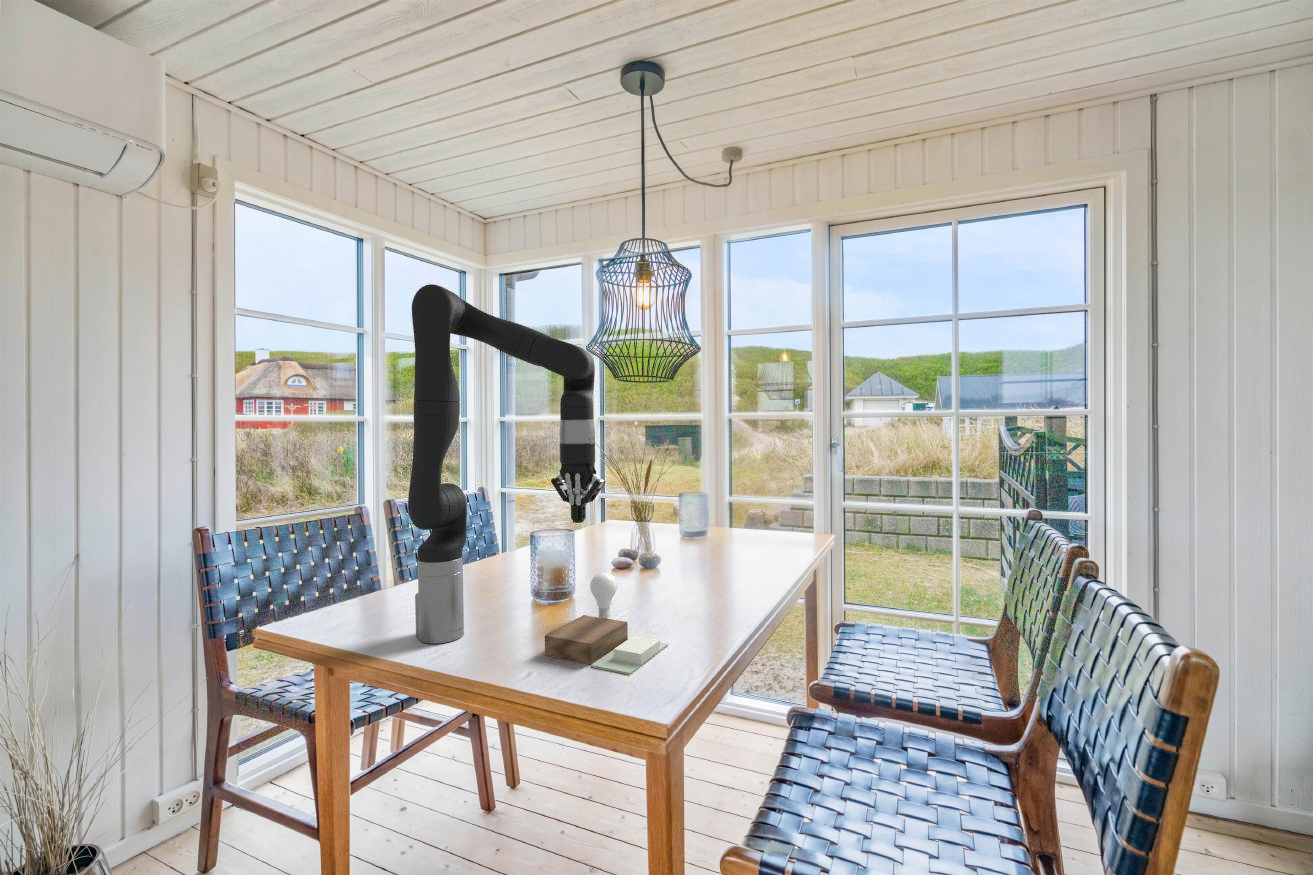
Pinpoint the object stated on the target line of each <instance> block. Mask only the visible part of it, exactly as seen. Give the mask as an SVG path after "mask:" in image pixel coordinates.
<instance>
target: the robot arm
mask: <svg viewBox="0 0 1313 875" xmlns="http://www.w3.org/2000/svg"><path fill="white" fill-rule="evenodd" d="M411 321H412V330H413V340H414V342H413V343H414V386H413V388H414V390H413V393H414V394H413V442H412V443H413V445H412V447H413V448H412V461H411V462H412V463H411V472H410V480H409V487H408V488H409V490H408V497H407V498H408V499H407V508H408V516H409V519H410V521H411V522H412V524H413V525H414V526H415V528H417V529H419V530H423V531H426V530H427V531H428V530H431V532H430V534H429V535H428V537H427V538H426V539H425V540H424V541H423V542H422V543H421V544H420V545H419V546H418V547H417V551H416V553H417V555H416V556H417V587H418V588H417V589H418V590H417V591H418V592H416V594H414V600H415V602H414V605H415V606H414V608H415V610H414V611H415V613H414V614H415V638H417V639H418V640H419V641H420V642H421V643H424V644H425V643H426V644H433V645H434V644H435V645H436V644H444V643H448V642H453V641H456V640H459V639H460V638H462V637H463V636H464V635H465V620H464V617H465V615H464V614H465V613H464V612H465V610H464V608H465V607H464V568H463V567H464V564H463V562H464V561H463V551H464V550H463V549H464V547H465V544H466V540H467V525H468V524H467V523H468V520H467V519H468V518H467V517H468V508H467V506H468V505H467V499H466V496H465V493H464V491H463V490H462V488H461V487H460V486H459V485H457V484H455V483H453V482H451V483H450V482H448V483H445V482H444V483H442V470H443V463H444V460H445V457H446V455H447V452H448V451H449V449H450V446H451V445H452V442H453V440H454V438H455V436H456V434H457V431H458V428H459V423H460V409H461V408H460V407H461V406H460V404H461V403H460V389H459V385H458V380H457V376H456V374H455V371H454V367H453V362H452V358H451V334H452V335H456V336H462V337H465V338H469V339H472V340H476V341H479V342H481V343H484V344H486V345H489V347H492V348H494V349H496V350H498V351H499V352H500V351H501V352H502V353H503V354H506V355H508V356H511V357H514V358H515V359H517V360H520V361H522V362H524V363H525V362H526V363H527V364H530V365H533V366H536V367H542V368H544V369H545V370H548V371H550V372H553V373H554V374H557V375H559V376H561V377H563V392H562V394H561V397H560V403H559V407H560V409H559V410H560V415H559V416H560V422H559V430H558V432H559V433H558V434H559V435H558V436H559V462H560V464H561V465H560V466H561V467H560V469H559V474H558V475H557V476H556V477H552V478H551V480H550V482H551V484H552V486H553V487H554V489H555V490H556V492H557V493H558V495H559V496H560V498H561V500H562V501H563V502H564V503H565V502H566V503H568V504H569V505H570V518H571V520H572V523H575V524H581V523H584V521H585V520H586V518H587V517H586V516H587V514H586V513H587V512H586V510H587V508H586V506H587V504H589V503H593V502H594V501H595V499H596V498H597V496H598V495H599V494H600V492H601V491H602V489H603V487H604V486H605V484H606V480H605V479H604V478H600V476H598V475H597V470H596V467H595V463H596V430H595V421H594V419H595V418H594V397H593V396H594V388H595V375H596V374H595V373H596V367H595V360H594V358H593V356H592V355H591V354H590V353H589V351H587V350H585V349H584V348H583V347H581V346H578V345H575V344H573V343H570V342H567V341H564V340H560V339H557V338H554V337H551V335H548V334H545V333H543V332H541V331H539V330H536V329H533V328H532V327H528V326H526V325H524V324H519V323H518V322H514V321H511V320H507V319H504V318H500V317H497V316H494V315H491V314H489V313H487V312H485V311H483V310H481V309H479V308H477V307H475V306H473V305H472V304H470V303H469V302H467V301H466V300H464V299H462V298H461V297H460V296H459V295H458V294H456V293H455V292H453V291H451V290H450V289H447V288H446V287H443V286H440V285H438V284H433V283H432V284H431V283H429V284H425V285H423V286H421V287H420V288H419V289H418V290H417V291H416V292H415V294H414V296H413V299H412V300H411ZM590 485H591V486H590Z"/></svg>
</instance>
